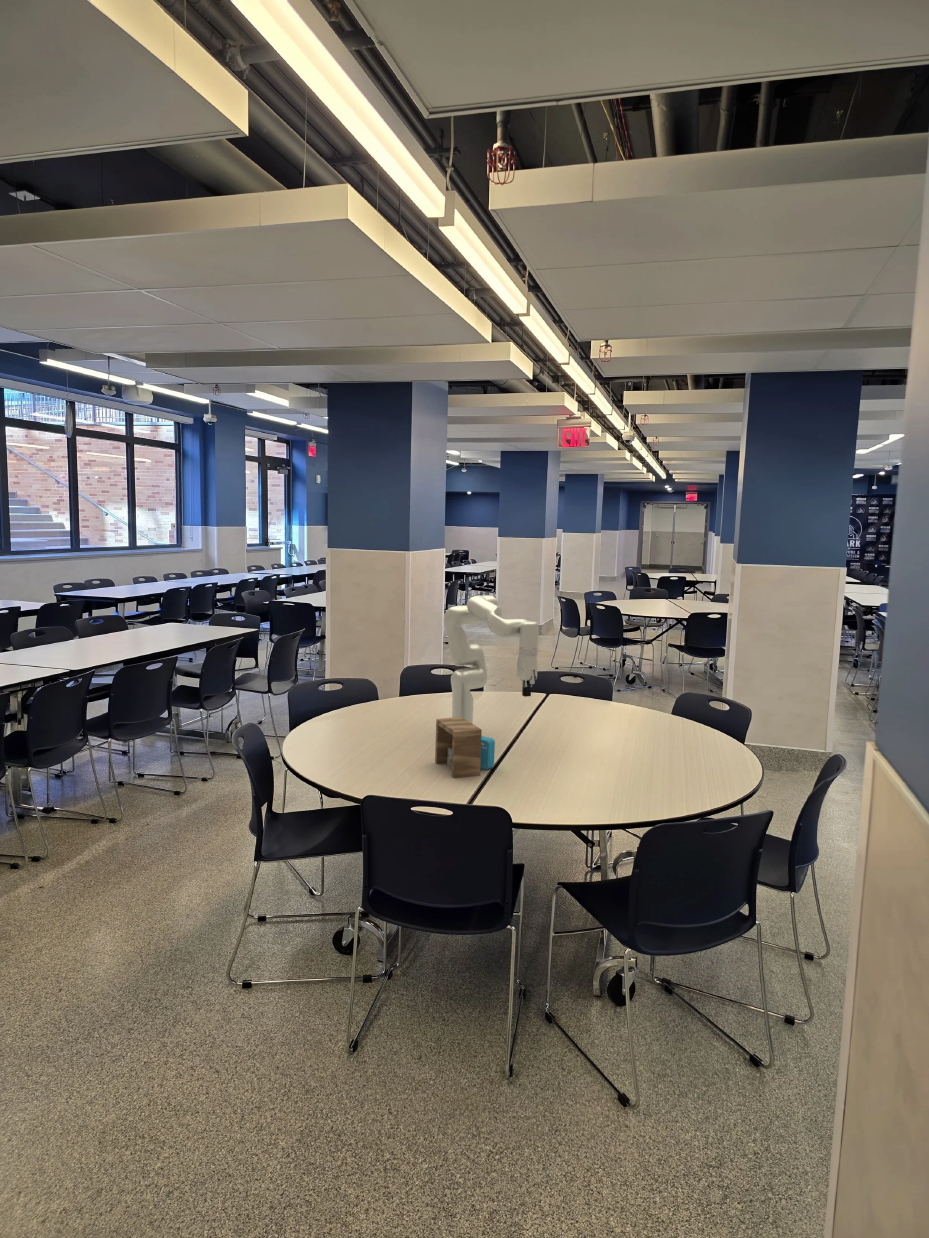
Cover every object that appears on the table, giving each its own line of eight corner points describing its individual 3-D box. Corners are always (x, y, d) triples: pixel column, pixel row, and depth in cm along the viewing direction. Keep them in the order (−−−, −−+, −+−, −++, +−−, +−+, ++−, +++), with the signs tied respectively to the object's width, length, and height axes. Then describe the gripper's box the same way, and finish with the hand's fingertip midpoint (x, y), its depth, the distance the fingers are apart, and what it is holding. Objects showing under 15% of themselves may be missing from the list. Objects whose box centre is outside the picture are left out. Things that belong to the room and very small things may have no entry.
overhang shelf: (435, 762, 297) (436, 718, 295) (460, 760, 301) (461, 717, 299) (453, 778, 278) (454, 731, 276) (480, 775, 283) (481, 729, 281)
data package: (462, 764, 295) (463, 735, 294) (469, 762, 299) (470, 733, 298) (487, 770, 288) (489, 741, 287) (494, 768, 292) (495, 738, 291)
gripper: (511, 649, 304) (510, 692, 306) (528, 654, 290) (526, 700, 292) (528, 648, 306) (526, 691, 309) (545, 654, 293) (543, 699, 295)
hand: (526, 695), depth 300 cm, fingers closed
